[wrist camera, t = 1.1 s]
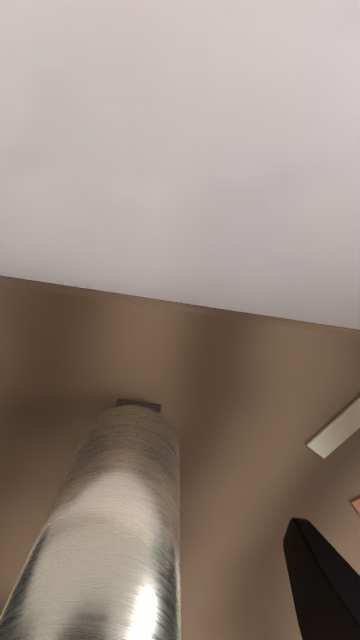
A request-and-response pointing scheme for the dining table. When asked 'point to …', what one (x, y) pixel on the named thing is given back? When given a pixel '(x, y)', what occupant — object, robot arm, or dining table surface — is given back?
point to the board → (188, 435)
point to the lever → (108, 539)
